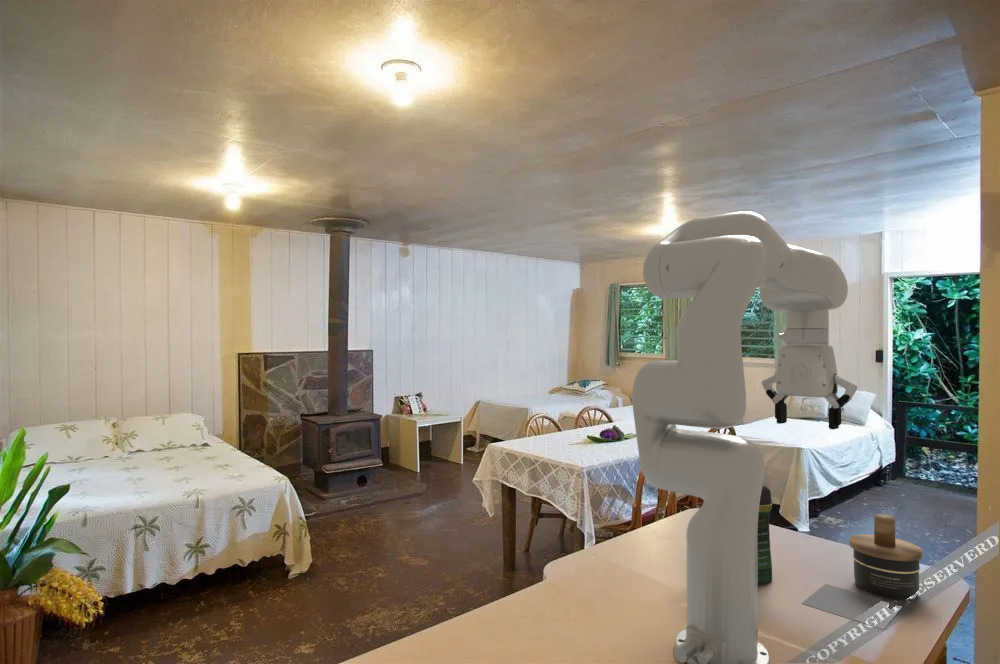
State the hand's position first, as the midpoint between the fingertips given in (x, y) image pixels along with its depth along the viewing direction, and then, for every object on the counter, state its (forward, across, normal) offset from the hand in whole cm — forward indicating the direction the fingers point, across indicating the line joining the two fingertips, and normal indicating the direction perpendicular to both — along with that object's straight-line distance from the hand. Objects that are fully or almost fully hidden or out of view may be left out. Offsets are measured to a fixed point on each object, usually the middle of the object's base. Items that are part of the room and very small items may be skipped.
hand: (806, 425), depth 111 cm
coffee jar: (+29, -7, -11) cm, 32 cm away
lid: (+21, +12, +3) cm, 25 cm away
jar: (+29, +12, +3) cm, 32 cm away
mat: (+29, +11, -9) cm, 32 cm away
